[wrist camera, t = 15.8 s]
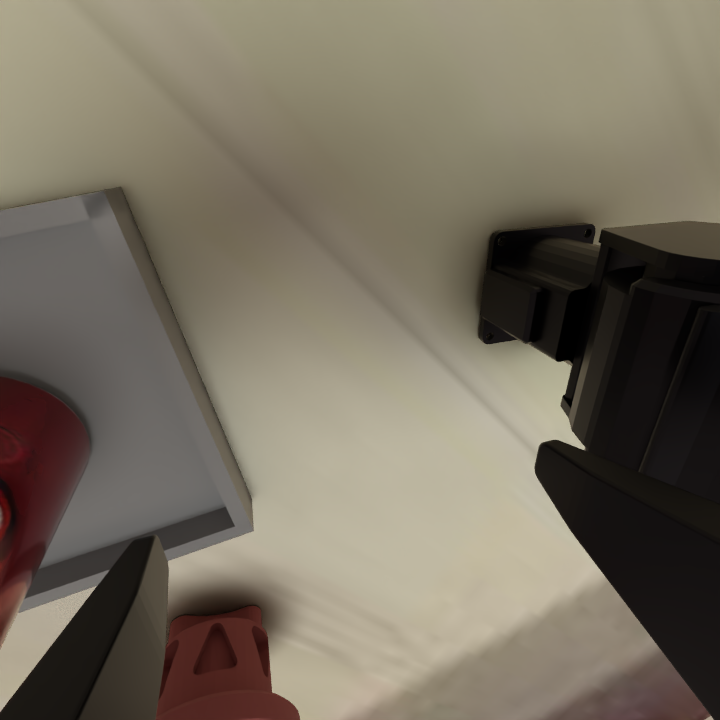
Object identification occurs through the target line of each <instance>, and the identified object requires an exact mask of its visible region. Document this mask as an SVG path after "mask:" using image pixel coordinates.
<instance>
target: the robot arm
mask: <svg viewBox="0 0 720 720" xmlns="http://www.w3.org/2000/svg"><path fill="white" fill-rule="evenodd" d="M585 231H586V234H585V235H584V233H585ZM594 236H595V226H594V225H592V224H587V223H580V224H568V225H556V226H545V227H533V228H521V229H509V230H499V231H496V232H494V233H493V234H492V236H491V238H490V242H489V251H488V260H487V269H486V273H485V275H484V284H483V293H482V302H481V311H480V315H481V322H480V330H479V338H480V340H481V341H482V342H484V343H485V344H493V343H499V342H506V341H512V340H519V341H521V342H523V343H525V344H529V345H531V346H533V347H534V348H536V349H538V350H539V351H541V352H542V353H544V354H546V355H547V356H549V357H551V358H552V359H554V360H555V361H557V362H561V361H564V362H566V363H568V364H569V365H571V366H572V368H571V373H570V377H569V381H568V385H567V390H566V394H565V395H563V397H562V401H561V407H562V409H563V410H564V412H565V413H566V415H567V416H568V418H569V421H570V425H571V429H572V431H573V432H574V434H575V435H576V436H577V438H578V439H579V440H580V441H581V443H582V444H583V445H584V446H585V450H582V449H579V448H577V447H574V446H572V445H569V444H566V443H564V442H561V441H559V440H551V441H547V442H543V443H541V444H540V446H539V449H538V453H537V458H536V463H535V474H536V476H537V478H538V480H539V481H540V483H541V485H542V486H543V488H544V489H545V491H546V493H547V494H548V496H549V497H550V499H551V501H552V502H553V504H554V505H555V507H556V509H557V510H558V512H559V513H560V515H561V517H562V518H563V520H564V521H565V523H566V524H567V526H568V527H569V529H570V530H571V532H572V533H573V535H574V536H575V537H576V539H577V540H578V541H579V543H580V544H581V545H582V547H583V548H584V549H585V551H586V552H587V553H588V554H589V556H590V557H591V558H592V560H593V561H594V562H595V564H596V565H597V566H598V568H599V569H600V570H601V572H602V573H603V574H604V576H605V577H606V578H607V579H608V581H609V582H610V583H611V585H612V586H613V587H614V589H615V590H616V591H617V593H618V594H619V595H620V597H621V598H622V599H623V601H624V602H625V603H626V604H627V606H628V607H629V608H630V610H631V611H632V612H633V614H634V615H635V616H636V618H637V619H638V620H639V622H640V623H641V624H642V626H643V627H644V628H645V629H646V631H647V632H648V633H649V635H650V636H651V637H652V639H653V640H654V641H655V643H656V644H657V645H658V647H659V648H660V649H661V651H662V652H663V653H664V654H665V656H666V657H667V658H668V660H669V661H670V662H671V664H672V665H673V666H674V668H675V669H676V670H677V672H678V673H679V674H680V676H681V677H682V678H683V679H684V681H685V682H686V683H687V685H688V686H689V687H690V689H691V690H692V691H693V693H694V694H695V695H696V697H697V698H698V699H699V701H700V702H701V703H702V704H703V706H704V707H705V708H706V710H707V711H708V712H709V714H710V715H711V716H712V718H713V719H714V720H720V224H719V223H707V222H695V221H682V222H671V223H659V224H648V225H637V226H626V227H615V228H604V229H602V230H601V234H600V239H599V243H601V246H598V245H594V244H593V240H594ZM500 237H502V241H501V243H500V244H498V240H499V238H500ZM488 333H490V335H489V336H488V337H487V338H486V336H487V334H488ZM168 576H169V569H168V561H167V558H166V556H165V553H164V550H163V548H162V545H161V542H160V539H159V537H158V536H157V535H155V534H152V535H148V536H143V537H139V538H136V539H134V540H133V541H132V542H131V543H130V544H129V546H128V547H127V548H126V549H125V551H124V552H123V553H122V555H121V556H120V557H119V559H118V560H117V561H116V562H115V564H114V565H113V566H112V568H111V569H110V570H109V571H108V573H107V574H106V575H105V577H104V578H103V579H102V581H101V582H100V583H99V584H98V586H97V587H96V588H95V590H94V591H93V592H92V594H91V595H90V596H89V597H88V599H87V600H86V601H85V603H84V604H83V605H82V607H81V608H80V609H79V610H78V612H77V613H76V614H75V616H74V617H73V618H72V620H71V621H70V622H69V623H68V625H67V626H66V627H65V629H64V630H63V631H62V633H61V634H60V635H59V636H58V638H57V639H56V640H55V642H54V643H53V644H52V646H51V647H50V648H49V649H48V651H47V652H46V653H45V655H44V656H43V657H42V659H41V660H40V661H39V662H38V664H37V665H36V666H35V668H34V669H33V670H32V672H31V673H30V674H29V675H28V677H27V678H26V679H25V681H24V682H23V683H22V685H21V686H20V687H19V688H18V690H17V691H16V692H15V694H14V695H13V696H12V698H11V699H10V700H9V701H8V703H7V704H6V705H5V707H4V708H3V709H2V711H1V712H0V720H155V719H156V713H157V706H158V699H159V693H160V686H161V679H162V673H163V666H164V658H165V646H166V625H167V601H168Z"/></svg>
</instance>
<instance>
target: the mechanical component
mask: <svg viewBox="0 0 720 720" xmlns="http://www.w3.org/2000/svg"><path fill="white" fill-rule="evenodd" d="M155 720H300V716H299V713H298V710H297V709H296V707H295V706H294V705H293V704H292V703H291V702H289V701H288V700H286V699H285V698H283V697H281V696H279V695H277V694H275V693H272V686H271V673H270V660H269V647H268V637H267V633H266V631H265V630H264V628H263V627H262V619H261V610H260V608H258V607H256V606H247V607H244V608H241V609H239V610H236V611H232V612H228V613H224V614H218V615H210V616H191V615H183V616H180V617H178V618H176V619H175V620H173V621H172V623H171V624H170V632H169V639H168V644H167V645H166V646H165V658H164V666H163V673H162V679H161V686H160V693H159V699H158V706H157V713H156V719H155Z"/></svg>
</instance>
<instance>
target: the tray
mask: <svg viewBox="0 0 720 720" xmlns="http://www.w3.org/2000/svg"><path fill="white" fill-rule="evenodd" d="M0 376H3V377H10V378H13V379H17V380H20V381H24V382H27V383H30V384H32V385H35V386H37V387H39V388H41V389H44V390H46V391H48V392H49V393H51V394H52V395H54V396H56V397H57V398H59V399H60V400H62V401H63V402H64V403H65V404H66V405H67V406H68V407H70V408H71V409H72V410H73V411H74V412H75V413H76V415H77V416H78V418H79V419H80V420H81V422H82V423H83V425H84V427H85V430H86V432H87V434H88V437H89V443H90V456H89V463H88V465H87V468H86V470H85V472H84V474H83V476H82V479H81V481H80V483H79V485H78V487H77V489H76V491H75V493H74V495H73V498H72V500H71V502H70V504H69V506H68V508H67V510H66V512H65V514H64V516H63V519H62V521H61V523H60V525H59V527H58V529H57V531H56V533H55V535H54V538H53V540H52V542H51V544H50V546H49V548H48V550H47V552H46V554H45V556H44V559H43V561H42V563H41V565H40V567H39V569H38V571H37V573H36V575H35V578H34V580H33V582H32V584H31V586H30V588H29V590H28V592H27V594H26V596H25V599H24V601H23V603H22V605H21V607H20V609H19V611H18V613H20V612H23V611H26V610H28V609H31V608H34V607H37V606H40V605H43V604H46V603H49V602H51V601H54V600H57V599H60V598H63V597H66V596H69V595H71V594H74V593H77V592H80V591H83V590H86V589H89V588H92V587H94V586H97V585H98V584H99V583H100V582H101V581H102V579H103V578H104V577H105V575H106V574H107V573H108V571H109V570H110V569H111V568H112V566H113V565H114V564H115V562H116V561H117V560H118V559H119V557H120V556H121V555H122V553H123V552H124V551H125V549H126V548H127V547H128V546H129V544H130V543H131V542H132V541H133V540H134V539H136V538H139V537H143V536H148V535H152V534H155V535H157V536H158V537H159V539H160V542H161V545H162V548H163V550H164V553H165V556H166V558H167V561H169V560H172V559H175V558H178V557H180V556H183V555H186V554H189V553H192V552H195V551H198V550H201V549H203V548H206V547H209V546H212V545H215V544H218V543H221V542H223V541H226V540H229V539H232V538H235V537H238V536H241V535H244V534H246V533H249V532H252V531H254V527H253V510H252V498H251V496H250V493H249V491H248V489H247V486H246V484H245V481H244V479H243V477H242V474H241V472H240V470H239V467H238V465H237V462H236V460H235V458H234V455H233V453H232V451H231V448H230V446H229V443H228V441H227V439H226V436H225V434H224V432H223V429H222V427H221V424H220V422H219V420H218V417H217V415H216V412H215V410H214V408H213V405H212V403H211V401H210V398H209V396H208V393H207V391H206V389H205V386H204V384H203V382H202V379H201V377H200V374H199V372H198V370H197V367H196V365H195V363H194V360H193V358H192V355H191V353H190V351H189V348H188V346H187V344H186V341H185V339H184V336H183V334H182V332H181V329H180V327H179V324H178V322H177V320H176V317H175V315H174V313H173V310H172V308H171V305H170V303H169V301H168V298H167V296H166V294H165V291H164V289H163V286H162V284H161V282H160V279H159V277H158V275H157V272H156V270H155V267H154V265H153V263H152V260H151V258H150V256H149V253H148V251H147V248H146V246H145V244H144V241H143V239H142V237H141V234H140V232H139V229H138V227H137V225H136V222H135V220H134V217H133V215H132V213H131V210H130V208H129V206H128V203H127V201H126V198H125V196H124V194H123V191H122V189H121V187H118V188H113V189H108V190H102V191H97V192H92V193H87V194H81V195H76V196H71V197H66V198H60V199H55V200H50V201H45V202H39V203H34V204H29V205H24V206H18V207H13V208H8V209H3V210H0Z"/></svg>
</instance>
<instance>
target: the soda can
mask: <svg viewBox="0 0 720 720" xmlns="http://www.w3.org/2000/svg"><path fill="white" fill-rule="evenodd" d="M89 456H90V443H89V437H88V434H87V432H86V430H85V427H84V425H83V423H82V422H81V420H80V419H79V418H78V416H77V415H76V413H75V412H74V411H73V410H72V409H71V408H70V407H68V406H67V405H66V404H65V403H64V402H63V401H62V400H60V399H59V398H57V397H56V396H54V395H52V394H51V393H49V392H48V391H46V390H44V389H41V388H39V387H37V386H35V385H32V384H30V383H27V382H24V381H20V380H17V379H13V378H10V377H3V376H0V649H1V647H2V645H3V643H4V641H5V639H6V636H7V634H8V632H9V630H10V628H11V626H12V624H13V622H14V620H15V618H16V615H17V613H18V611H19V609H20V607H21V605H22V603H23V601H24V599H25V596H26V594H27V592H28V590H29V588H30V586H31V584H32V582H33V580H34V578H35V575H36V573H37V571H38V569H39V567H40V565H41V563H42V561H43V559H44V556H45V554H46V552H47V550H48V548H49V546H50V544H51V542H52V540H53V538H54V535H55V533H56V531H57V529H58V527H59V525H60V523H61V521H62V519H63V516H64V514H65V512H66V510H67V508H68V506H69V504H70V502H71V500H72V498H73V495H74V493H75V491H76V489H77V487H78V485H79V483H80V481H81V479H82V476H83V474H84V472H85V470H86V468H87V465H88V463H89Z"/></svg>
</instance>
